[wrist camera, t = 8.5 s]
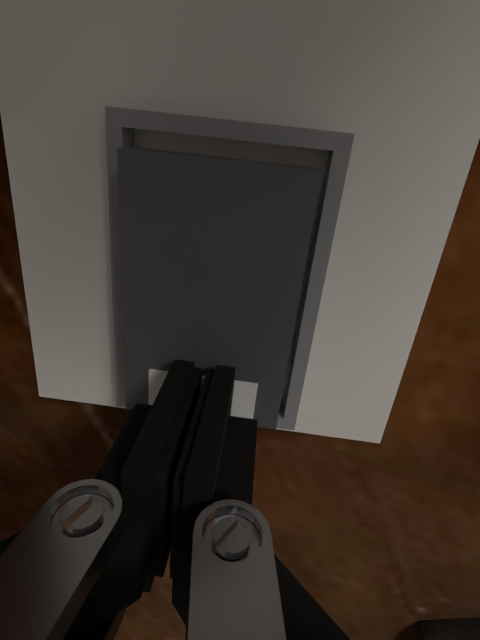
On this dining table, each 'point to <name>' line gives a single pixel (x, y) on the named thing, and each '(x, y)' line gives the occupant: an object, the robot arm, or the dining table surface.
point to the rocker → (212, 270)
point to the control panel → (251, 144)
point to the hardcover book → (451, 629)
